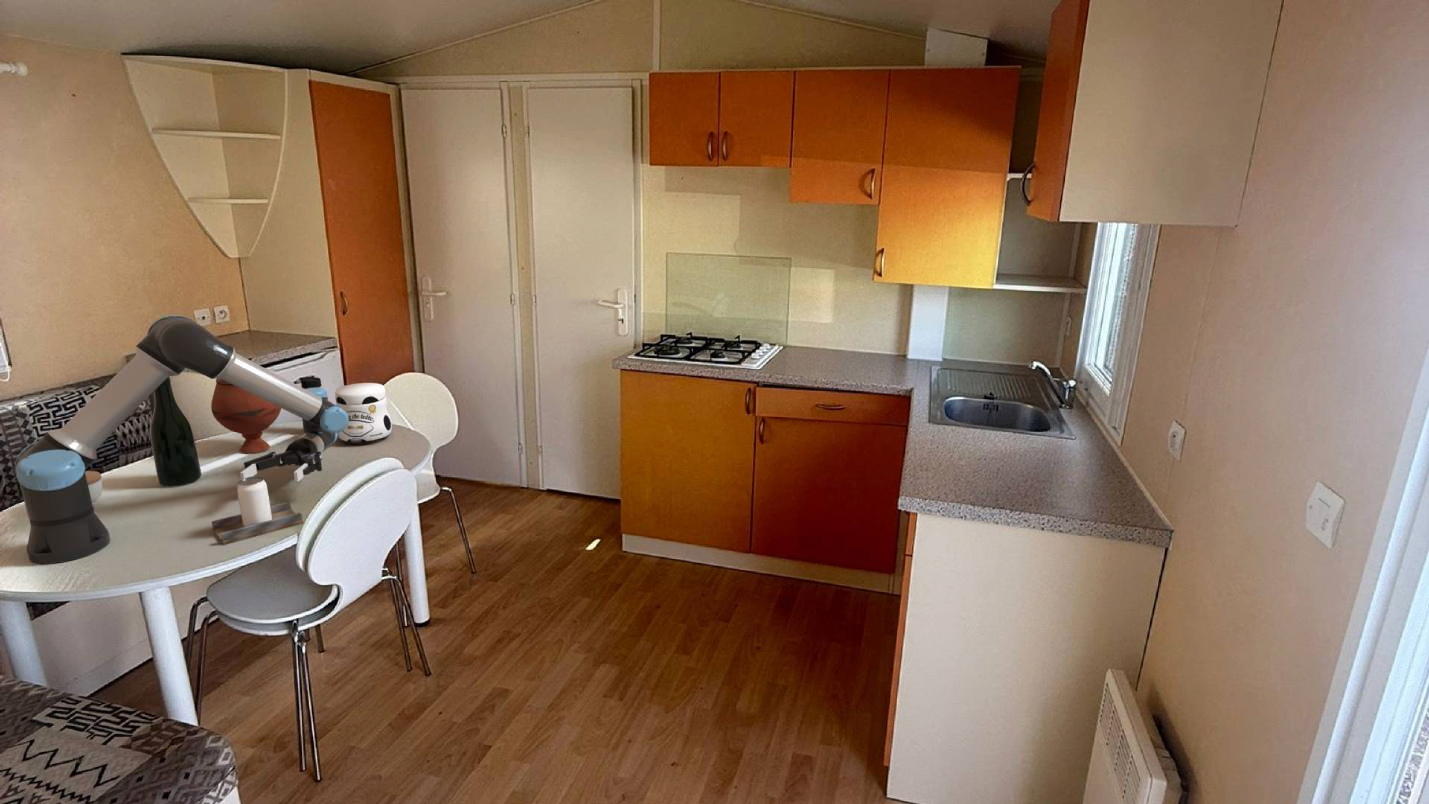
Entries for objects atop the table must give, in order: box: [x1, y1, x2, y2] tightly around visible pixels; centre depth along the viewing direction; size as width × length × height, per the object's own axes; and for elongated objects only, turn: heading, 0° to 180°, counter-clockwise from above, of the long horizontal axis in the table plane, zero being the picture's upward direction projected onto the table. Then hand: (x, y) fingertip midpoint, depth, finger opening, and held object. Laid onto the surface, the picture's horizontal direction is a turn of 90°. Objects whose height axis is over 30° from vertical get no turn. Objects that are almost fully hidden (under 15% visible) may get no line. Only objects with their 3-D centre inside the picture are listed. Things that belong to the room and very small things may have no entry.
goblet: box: [210, 378, 282, 455], centre depth 243 cm, size 19×19×25 cm
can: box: [236, 475, 272, 527], centre depth 192 cm, size 6×6×12 cm
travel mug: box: [298, 376, 323, 389], centre depth 262 cm, size 6×7×20 cm
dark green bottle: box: [149, 376, 202, 487], centre depth 216 cm, size 10×10×33 cm
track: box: [211, 501, 304, 546], centre depth 193 cm, size 18×11×3 cm, turn 135°
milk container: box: [334, 382, 393, 444], centre depth 256 cm, size 17×17×18 cm
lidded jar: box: [85, 470, 103, 505], centre depth 203 cm, size 11×11×9 cm
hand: (269, 477), depth 199 cm, fingers open, 13 cm apart
